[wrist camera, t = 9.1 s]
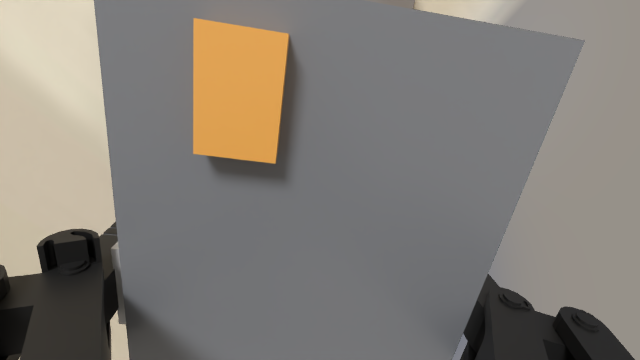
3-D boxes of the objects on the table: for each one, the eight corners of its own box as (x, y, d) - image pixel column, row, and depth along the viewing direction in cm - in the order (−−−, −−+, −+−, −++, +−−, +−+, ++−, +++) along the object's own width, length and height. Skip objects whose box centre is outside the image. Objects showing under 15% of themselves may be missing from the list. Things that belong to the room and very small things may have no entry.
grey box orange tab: (351, 283, 23) (402, 509, 12) (219, 273, 22) (134, 509, 11) (405, 48, 17) (612, 39, 6) (229, 18, 16) (64, -63, 5)
